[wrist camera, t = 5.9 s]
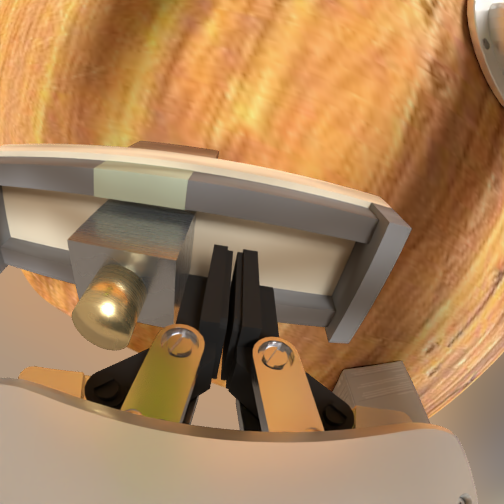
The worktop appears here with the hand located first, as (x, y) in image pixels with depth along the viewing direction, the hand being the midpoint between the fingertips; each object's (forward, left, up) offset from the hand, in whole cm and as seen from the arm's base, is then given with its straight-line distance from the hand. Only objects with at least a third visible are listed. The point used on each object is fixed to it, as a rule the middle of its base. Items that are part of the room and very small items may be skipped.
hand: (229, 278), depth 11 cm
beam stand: (0, -4, -8) cm, 9 cm away
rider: (0, -4, -2) cm, 4 cm away
